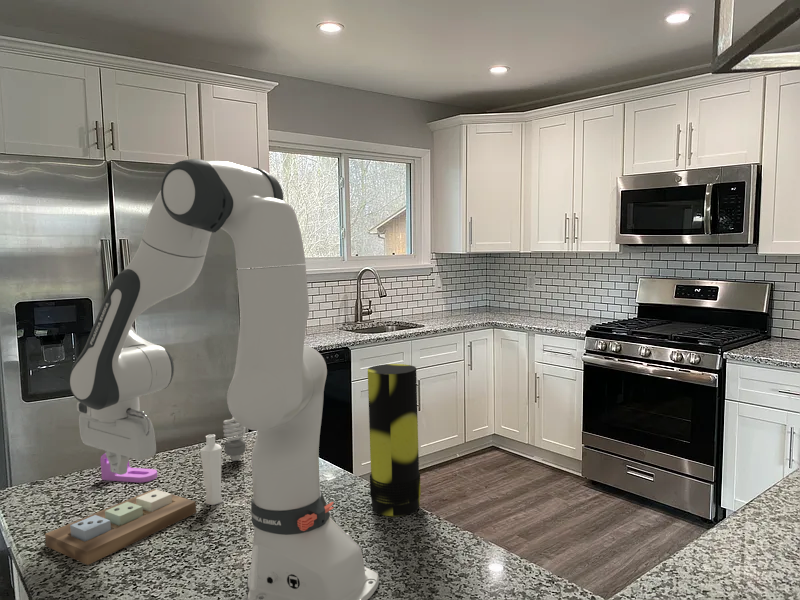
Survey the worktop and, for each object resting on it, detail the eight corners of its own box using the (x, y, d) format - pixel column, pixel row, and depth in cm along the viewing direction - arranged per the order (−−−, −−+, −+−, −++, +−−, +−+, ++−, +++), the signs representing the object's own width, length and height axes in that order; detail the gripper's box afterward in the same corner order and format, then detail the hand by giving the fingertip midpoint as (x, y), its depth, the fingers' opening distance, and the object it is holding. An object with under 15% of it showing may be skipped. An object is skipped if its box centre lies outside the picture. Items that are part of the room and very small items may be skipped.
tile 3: (111, 532, 116) (110, 519, 116) (86, 544, 112) (85, 530, 112) (96, 527, 119) (95, 514, 119) (71, 537, 115) (70, 524, 114)
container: (431, 504, 129) (428, 367, 126) (397, 522, 121) (393, 376, 118) (394, 491, 136) (390, 361, 133) (360, 508, 128) (355, 370, 125)
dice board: (196, 512, 128) (195, 501, 128) (87, 565, 108) (86, 551, 107) (154, 499, 135) (154, 488, 135) (46, 546, 115) (44, 533, 115)
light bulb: (234, 466, 154) (232, 421, 153) (220, 462, 158) (217, 418, 156) (251, 459, 159) (249, 415, 158) (236, 456, 162) (234, 413, 161)
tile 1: (172, 505, 128) (171, 493, 128) (151, 514, 124) (150, 502, 124) (157, 500, 131) (156, 489, 130) (136, 509, 126) (136, 497, 126)
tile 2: (143, 518, 122) (142, 506, 122) (120, 528, 118) (119, 515, 118) (128, 513, 125) (127, 501, 125) (105, 522, 121) (104, 510, 120)
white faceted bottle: (219, 506, 131) (215, 439, 129) (200, 505, 132) (196, 438, 130) (229, 497, 135) (225, 432, 134) (211, 496, 136) (207, 432, 135)
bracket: (102, 480, 148) (99, 453, 148) (117, 472, 154) (115, 445, 153) (148, 483, 145) (146, 455, 145) (162, 474, 151) (160, 448, 150)
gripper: (162, 409, 116) (165, 477, 118) (100, 395, 127) (104, 458, 128) (133, 417, 111) (137, 488, 112) (71, 402, 122) (75, 468, 123)
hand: (119, 472), depth 121 cm, fingers closed
